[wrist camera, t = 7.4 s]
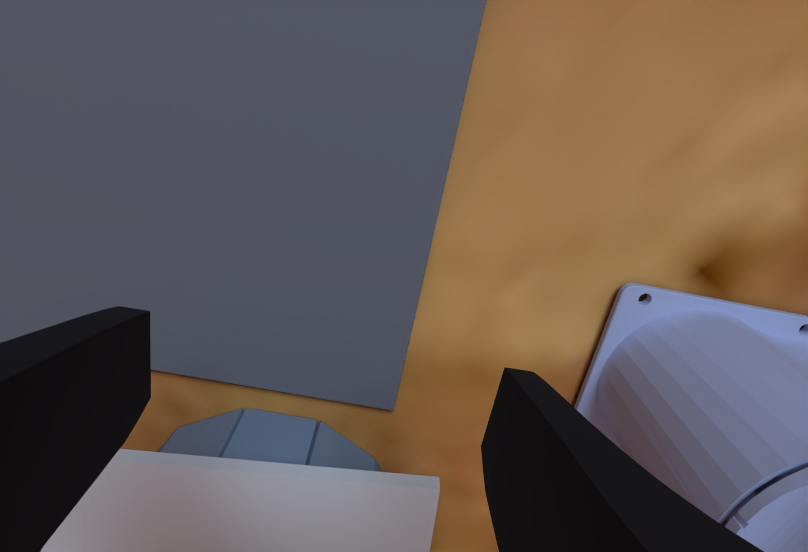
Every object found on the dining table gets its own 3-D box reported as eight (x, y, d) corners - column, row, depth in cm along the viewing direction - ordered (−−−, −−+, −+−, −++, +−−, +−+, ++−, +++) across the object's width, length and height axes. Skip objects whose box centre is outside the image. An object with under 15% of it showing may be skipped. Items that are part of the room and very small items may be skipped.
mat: (494, -42, 16) (496, -45, 16) (393, 405, 23) (393, 410, 22) (-72, -172, 15) (-84, -179, 15) (-10, 336, 22) (-18, 341, 21)
